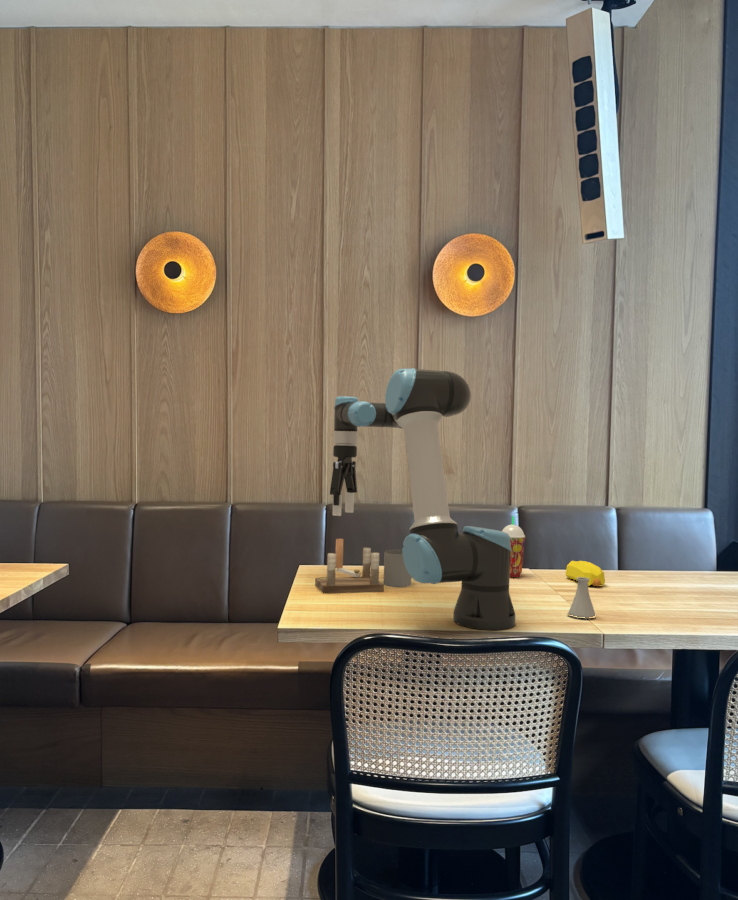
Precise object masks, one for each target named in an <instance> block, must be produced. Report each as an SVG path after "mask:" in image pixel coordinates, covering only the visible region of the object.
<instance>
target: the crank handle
mask: <svg viewBox="0 0 738 900" xmlns="http://www.w3.org/2000/svg"><path fill="white" fill-rule="evenodd" d="M335 554H336V570H335V572H338V573H340V574H341V573H342V574H344V575H347V576H349V577H362V576H361V573H362V572H359V573H355V572H354V570H351V569H348V568H344V538H336V539H335Z"/></svg>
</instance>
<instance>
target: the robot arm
mask: <svg viewBox="0 0 738 900" xmlns="http://www.w3.org/2000/svg"><path fill="white" fill-rule="evenodd" d="M471 394H472V393H471V388H470V385H469V384H468V382H467V381H466V379H464V377H462V376H461V375H459V374H458V373H455V372H453V371H447V370H432V369H431V370H430V369H421V368H418V369H417V368H415V367H413V368H412V367H411V368H399V369H397V370H396V371H394V372H393V374H391V377H390V378H389V381H388V383H387V386H386V390H385V399H384V400H385V401H384V402H385V403H384V402H368V401H364V400H363V401H361V400H359V399H358V397H356V396H344V395H342V396H337V397H336V398H335V401H334V406H333V408H334V410H333V411H334V415H333V416H334V417H333V420H334V421H333V422H334V423H333V425H334V426H333V428H334V429H333V434H332V437H333V443H334V444H335V445H333V448H332V449H333V450H332V451H333V455H332V456H333V457H335V458H337V461H333V464H332V475H331V483H330V488H329V495H331V496H332V516H338V517H341V516H342V504H343V503H342V501H343V495H342V490H343V485H344V483H345V488H346V492H345V496H344V497H345V500H344V501H345V503H344V504H345V505H344V513H351V514H353V513H354V511H355V510H354V504H355V493H358V489H357V488H358V487H357V486H358V485H357V484H358V483H357V471H356V467H357V466H356V464H357V463H356V461H355V460H353V458H357V454H358V452H357V451H358V448H357V446H356V445H357V444H358V427H359V428H360V427H363V428H364V427H366V428H367V427H368V428H394V429H395V428H396V429H403V435H404V444H405V450H406V452H405V453H406V459H407V460H406V461H407V468H408V477H409V478H408V479H409V487H410V493H411V501H412V508H413V509H412V510H413V516H414V517H413V518H414V522H413V523H412V525H411V526H410V527H409V534H408V535H407V536H405V538H404V540H403V542H402V545H403V547H402V549H401V550H402V553H403V560H404V564H405V567H406V569H407V571H408V573H409V575H410V576H411V579H413V580H414V581H415V582H417V583H420V584H431V585H435V584H441V583H443V584H444V583H456V582H457V583H459V582H461V587H460V588H461V589H460V592H459V595H458V598H457V600H456V603H455V605H454V607H453V608H454V609H453V617H452V620H453V622H454V623H456V624H457V625H460V626H463V627H466V628H472V629H476V630H488V631H489V630H491V631H494V630H495V631H496V630H497V631H498V630H506V629H507V630H508V629H511V628H513V627H515V626H516V612H515V609H514V605H513V602H512V601H513V600H512V598H511V594H510V552H511V544H510V536H509V535H508V534H507V533H505V532H502V530H497V529H492V528H486V527H478V526H471V525H465V526H464V527H463V529H462V530H461V531H462V532H459V527H458V523H457V522H456V521H455V520H454V519H452V518H451V516H450V508H449V500H448V493H447V486H446V479H445V471H444V465H443V464H444V462H443V458H442V457H443V456H442V455H443V454H442V449H441V447H442V446H441V440H440V434H439V427H438V426H439V423H440V422H441V421H442V419H443V417H444V418H447V417H449V418H450V417H452V416H457V415H459V414H461V413H463V412H464V411H465V410H466V409H467V408H468V406H470V402H471V397H472V395H471Z"/></svg>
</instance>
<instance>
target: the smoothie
mask: <svg viewBox="0 0 738 900" xmlns="http://www.w3.org/2000/svg"><path fill="white" fill-rule="evenodd" d="M501 531H502V532H505V533H507V534H508V535H509V536H510V544H511V552H510V577H518V578H520V577H519V576H521V575H522V572H523V563H524V562H523V561H524V555H525V554H524V552H525V551H524V550H525V544H526V543H525V542H526V541H525V540H526V535H525V533H524V531H523V529H522V528H521V527H520V526H519V525H517V524H515V516H514V515H513V516H511V524H507V525H505V526H504V527H503V529H502V530H501Z"/></svg>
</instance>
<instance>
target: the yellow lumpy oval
mask: <svg viewBox="0 0 738 900" xmlns="http://www.w3.org/2000/svg"><path fill="white" fill-rule="evenodd" d="M564 575H565V577H567V578H568V579H569V578H570V579H569V580H571V579H573V580H572V581H574V580H576V581H575V582H577V577H585V578H589V582H588V587H590V586H591V585H592V586H593V587H595V586H597V587H600V586H599V585H603V586H604V585H605V583H606V578H605V571H603V570H602V568H601V567H599V566H598V565H596V564H594V563H592V562H589V561H586V560H585V561H584V560H578V561H576V560H571V561H570V562H569V563H568V564H567V565H566V570H565V574H564Z"/></svg>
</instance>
